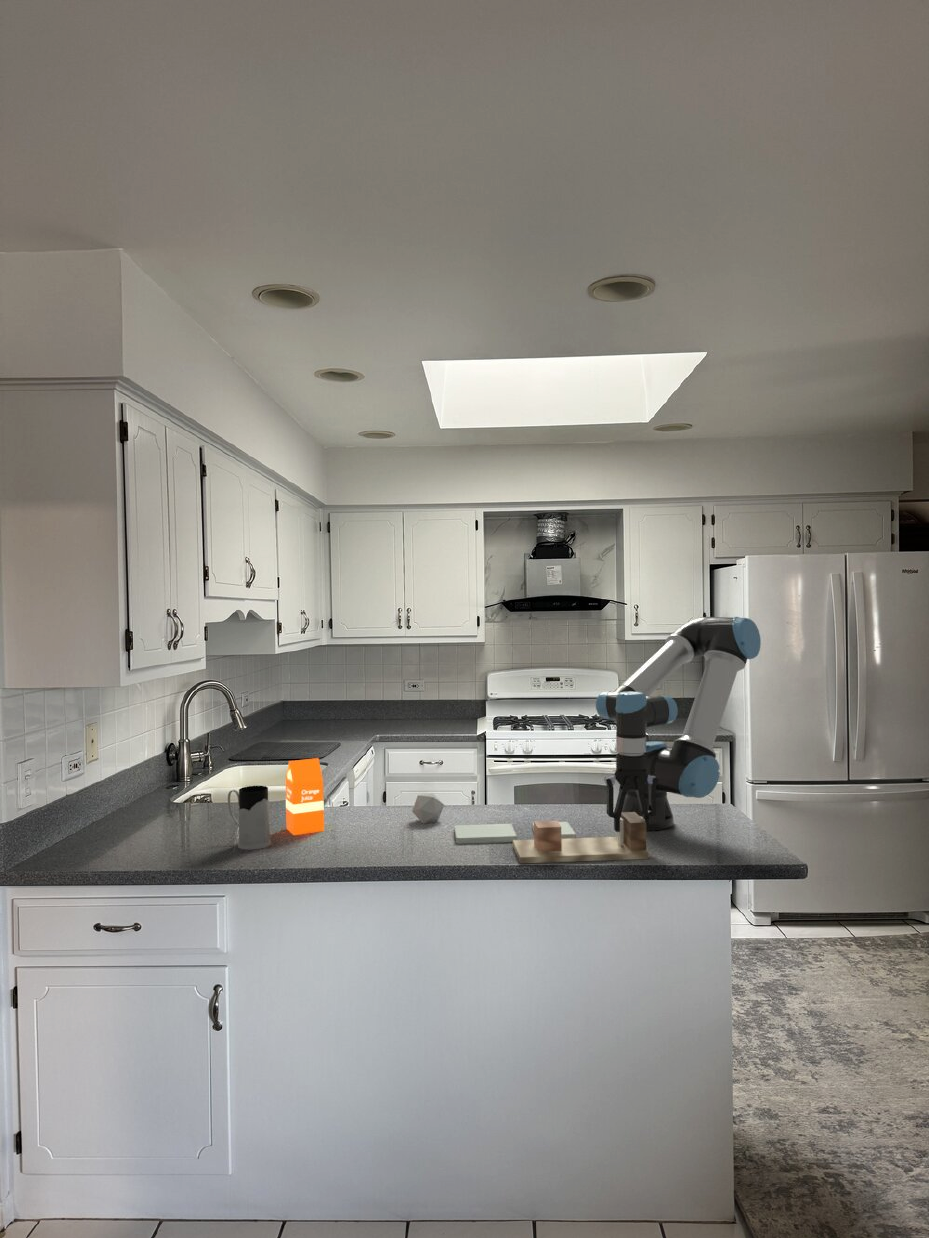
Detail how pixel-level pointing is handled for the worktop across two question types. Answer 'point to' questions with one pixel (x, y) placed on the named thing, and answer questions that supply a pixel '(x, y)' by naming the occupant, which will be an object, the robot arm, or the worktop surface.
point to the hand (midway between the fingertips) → (631, 843)
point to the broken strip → (497, 833)
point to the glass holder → (252, 817)
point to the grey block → (427, 808)
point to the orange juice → (304, 797)
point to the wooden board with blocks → (592, 846)
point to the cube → (547, 836)
